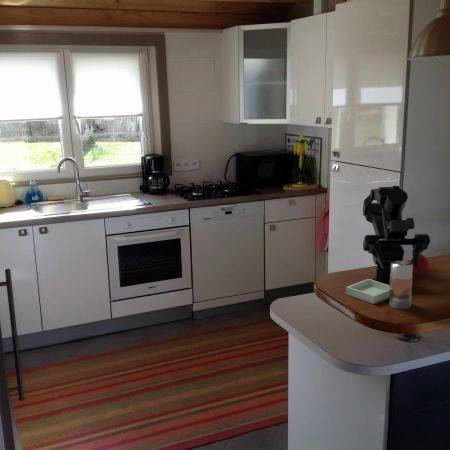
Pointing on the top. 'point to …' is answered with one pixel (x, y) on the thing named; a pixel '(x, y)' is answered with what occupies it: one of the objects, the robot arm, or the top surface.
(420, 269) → the onion
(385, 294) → the pale green square tray
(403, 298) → the tin
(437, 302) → the top surface
